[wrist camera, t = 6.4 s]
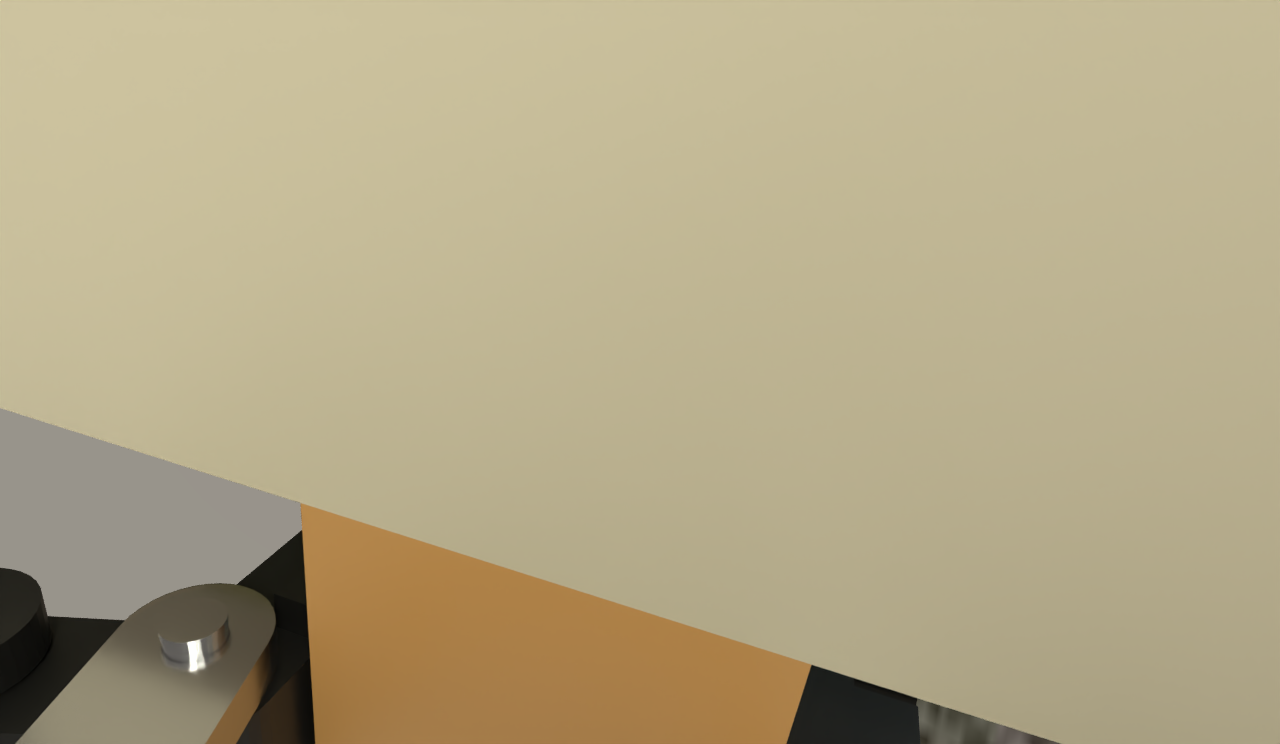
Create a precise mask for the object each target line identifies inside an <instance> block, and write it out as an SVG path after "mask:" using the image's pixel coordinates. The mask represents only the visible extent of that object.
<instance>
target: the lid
mask: <svg viewBox="0 0 1280 744" xmlns="http://www.w3.org/2000/svg"><path fill="white" fill-rule="evenodd" d="M0 408H2V409H5V410H8V411H11V412H14V413H18V414H21V415H24V416H27V417H30V418H33V419H37V420H40V421H43V422H46V423H50V424H53V425H56V426H59V427H62V428H65V429H68V430H71V431H75V432H78V433H81V434H84V435H88V436H90V437H94V438H97V439H100V440H103V441H106V442H109V443H113V444H116V445H119V446H122V447H125V448H128V449H132V450H135V451H138V452H141V453H144V454H147V455H150V456H154V457H157V458H160V459H163V460H166V461H169V462H173V463H176V464H179V465H182V466H186V467H189V468H192V469H195V470H198V471H201V472H204V473H207V474H211V475H214V476H217V477H220V478H223V479H226V480H229V481H233V482H236V483H239V484H242V485H245V486H249V487H252V488H255V489H258V490H261V491H265V492H267V493H271V494H274V495H277V496H280V497H283V498H286V499H290V500H293V501H296V502H299V503H301V517H302V534H303V550H304V567H305V583H306V599H307V616H308V632H309V648H310V665H311V681H312V697H313V714H314V730H315V744H786V743H787V740H788V737H789V734H790V730H791V727H792V724H793V721H794V718H795V715H796V712H797V709H798V705H799V702H800V699H801V696H802V693H803V690H804V687H805V684H806V680H807V677H808V674H809V671H810V668H811V665H814V666H818V667H821V668H824V669H827V670H830V671H833V672H837V673H840V674H843V675H846V676H849V677H852V678H856V679H859V680H862V681H865V682H868V683H871V684H874V685H878V686H881V687H884V688H887V689H890V690H893V691H897V692H900V693H903V694H906V695H909V696H912V697H916V698H919V699H922V700H925V701H928V702H931V703H935V704H938V705H941V706H944V707H947V708H950V709H954V710H957V711H960V712H963V713H966V714H969V715H972V716H976V717H979V718H982V719H985V720H988V721H991V722H995V723H998V724H1001V725H1004V726H1007V727H1010V728H1014V729H1017V730H1020V731H1023V732H1026V733H1029V734H1033V735H1036V736H1039V737H1042V738H1045V739H1048V740H1052V741H1055V742H1058V743H1061V744H1280V0H0Z"/></svg>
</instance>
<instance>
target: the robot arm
mask: <svg viewBox="0 0 1280 744" xmlns="http://www.w3.org/2000/svg"><path fill="white" fill-rule="evenodd" d="M916 702H917V698H916V697H912V696H909V695H906V694H903V693H900V692H897V691H893V690H890V689H887V688H884V687H881V686H878V685H874V684H871V683H868V682H865V681H862V680H859V679H856V678H852V677H849V676H846V675H843V674H840V673H837V672H833V671H830V670H827V669H824V668H821V667H818V666H814V665H811V668H810V671H809V674H808V677H807V680H806V684H805V687H804V690H803V693H802V696H801V699H800V702H799V705H798V709H797V712H796V715H795V718H794V721H793V724H792V727H791V730H790V734H789V737H788V740H787V743H786V744H920V732H919V716H918V706H916ZM0 744H315V730H314V714H313V697H312V681H311V665H310V648H309V632H308V616H307V599H306V583H305V567H304V550H303V534H302V530H301V531H300V532H299V533H298V534H297V535H296V536H294V537H293V538H292V539H291V540H290V541H288V542H287V543H286V544H285V545H284V546H282V547H281V548H280V549H279V550H277V551H276V552H275V553H274V554H273V555H272V556H270V557H269V558H268V559H267V560H265V561H264V562H263V563H262V564H261V565H260V566H258V567H257V568H256V569H255V570H254V571H252V572H251V573H250V574H249V575H247V576H246V577H245V578H244V579H243V580H241V581H240V582H239V583H238V584H237V585H234V584H222V583H219V584H204V585H197V586H192V587H188V588H184V589H180V590H177V591H174V592H171V593H168V594H166V595H163V596H161V597H159V598H157V599H155V600H153V601H151V602H150V603H148V604H146V605H144V606H143V607H141V608H140V609H138V610H137V611H136V612H134V613H133V614H132V615H130V616H129V617H128V618H127V619H126V620H108V619H88V618H69V617H51V616H47V612H46V608H45V604H44V600H43V596H42V592H41V588H40V586H39V585H38V583H37V581H36V580H34V579H33V578H32V577H31V576H29V575H27V574H25V573H23V572H20V571H16V570H12V569H5V568H0Z"/></svg>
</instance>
